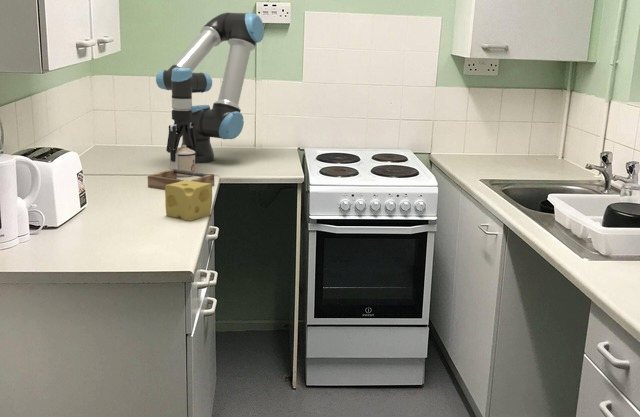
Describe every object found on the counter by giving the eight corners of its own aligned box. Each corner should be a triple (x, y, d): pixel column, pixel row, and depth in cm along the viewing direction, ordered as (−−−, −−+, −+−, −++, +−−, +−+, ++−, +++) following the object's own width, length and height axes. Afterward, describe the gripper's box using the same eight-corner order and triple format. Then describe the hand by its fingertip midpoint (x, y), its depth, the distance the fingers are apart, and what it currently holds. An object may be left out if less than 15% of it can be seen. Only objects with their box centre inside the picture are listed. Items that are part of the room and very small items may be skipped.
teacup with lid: (196, 177, 267) (196, 147, 264) (172, 177, 265) (171, 147, 262) (194, 170, 278) (194, 141, 275) (171, 170, 276) (170, 141, 273)
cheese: (190, 221, 208) (189, 189, 206) (163, 215, 214) (162, 184, 211) (213, 214, 217) (212, 183, 214) (187, 209, 223) (186, 178, 220)
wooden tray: (173, 179, 262) (173, 168, 261) (214, 184, 255) (214, 174, 254) (147, 187, 249) (147, 176, 248) (190, 193, 242) (190, 182, 241)
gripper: (190, 106, 276) (190, 162, 281) (155, 110, 256) (156, 171, 262) (206, 108, 273) (205, 165, 278) (172, 112, 253) (173, 173, 259)
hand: (181, 167), depth 270 cm, fingers open, 9 cm apart
